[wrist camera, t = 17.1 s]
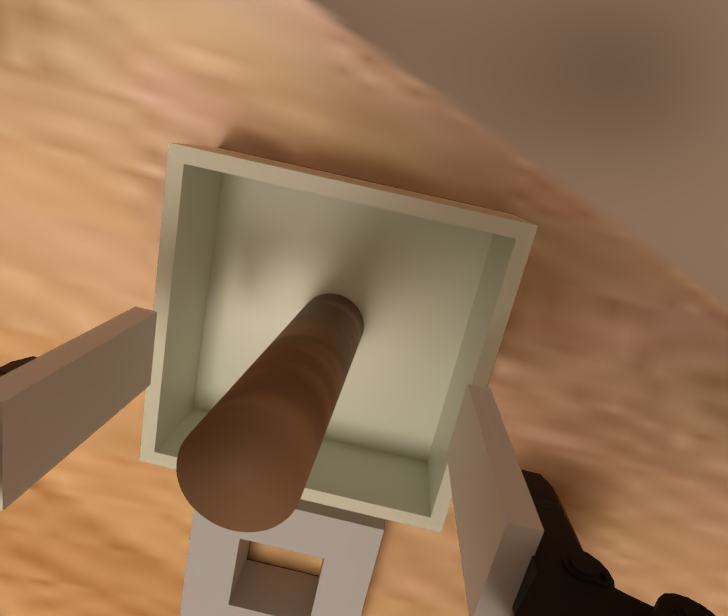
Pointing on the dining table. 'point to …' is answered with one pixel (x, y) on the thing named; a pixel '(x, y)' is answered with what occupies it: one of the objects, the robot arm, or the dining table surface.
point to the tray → (335, 276)
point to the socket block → (279, 585)
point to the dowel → (271, 422)
